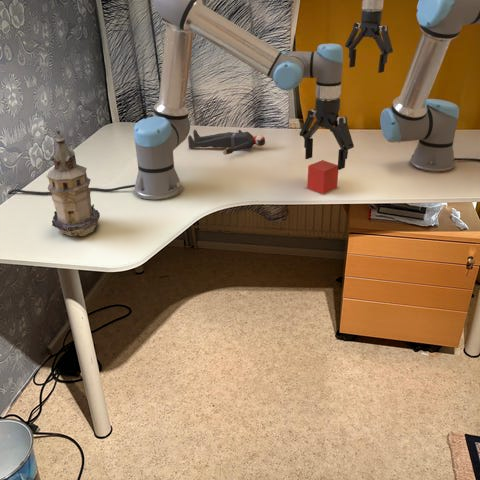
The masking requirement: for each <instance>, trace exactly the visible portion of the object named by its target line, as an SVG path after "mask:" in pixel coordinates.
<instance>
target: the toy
mask: <svg viewBox="0 0 480 480" xmlns="http://www.w3.org/2000/svg"><path fill="white" fill-rule="evenodd" d="M187 142H188V148H189V149H190V150H192V149H196V148H203V149H206V148H216V149H217V148H224V150H222V153H223V155H224V156H226V155H231V154H233V153H234V152H238V151H241V150H242V151H249V150H252V149H253V148H254V146H259V147H262V146H264V145H265V144H266V137H265V136H263V135H255V136H253V134H252V133H250V132H249V131H242V130H241V129H237V130H236V132H231V131H228V132H222V133H221V132H220V133H215V134H209V135H203V136H201V135H200V134H199V133H198V131H197V129H193V136H192V135H190V134H188V136H187Z"/></svg>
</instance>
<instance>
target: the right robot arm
mask: <svg viewBox="0 0 480 480" xmlns="http://www.w3.org/2000/svg"><path fill="white" fill-rule="evenodd" d="M384 1H385V0H362V1H361V9H362V10H361V12H360V21H361V22H360V21H359V22H354V23H353V27H352V30H351V31H350V34H349V36H348V37H347V40H346V41H345V44H344V47H345V48H347V49H348V59H349V65H348V68H350V69H351V68H355V67H356V59H357V58H356V57H357V49H356V48H357V46H358V45H359V44H360V43H361V41H362V40H363V39H364V38H367V37H368V38H372V39H373V40H374V41H375V43H376V45H377V47H378V49H379V51H380V52H381V54H380V55H379V60H378V70H377V73H379V74H381V73H385V66H386V64H387V63H388V56H389V54H393V52H394V48H393V45H392V42H391V38H390V35H389V26H388V25H382V24H381V22H382V19H383V9H384ZM416 10H417V12H416V20H417V22H418V24H419V30H420V31H421V32H422V33H421V35H420V38H419V41H418V44H417V46H416V49H415V52H414V55H413V57H412V60H411V63H410V67H409V69H408V72H407V75H406V77H405V80H404V83H403V85H402V89H401V91H400V94H399V96H397V97H395V98H394V99H393V101H392V104H391V105H390V107H386V108H384V109H382V111H381V113H380V120H379V121H380V129H381V132H382V135H383V137H384V139H385V140H386V141H387V142H388V143H403V142H412V141H418V143H417V145H416V147H415V150H414V151H413V154H412V155H411V157H410V162H409V164H410V166H411V167H413V168H414V169H416V170H418V171H422V172H426V173H433V174H435V173H436V174H440V173H448V172H451V171H453V170H454V169H455V164H456V161H471V162H480V158H470V157H455V155H454V153H455V152H454V141H455V137H456V131H457V126H458V121H459V119H460V117H459V115H460V108H459V105H457V104H456V103H455V102H452V101H448V100H445V99H444V100H443V99H437V98H429V96H430V94H431V90H432V89H433V86H434V83H435V81H436V79H437V76H438V73H439V71H440V69H441V66H442V63H443V61H444V58H445V56H446V53H447V51H448V49H449V47H450V43H451V41H452V40H455V39H456V38H457V37H459V35H460V32H461V30H462V28H463V26H467V25H478V24H480V0H418V3H417V5H416ZM359 30H360V32H359Z"/></svg>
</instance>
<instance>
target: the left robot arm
mask: <svg viewBox="0 0 480 480" xmlns="http://www.w3.org/2000/svg"><path fill="white" fill-rule="evenodd" d="M207 3H208V0H153V4H154V5H153V6H154V8H155V10H156V12H157V13H158V15H159V16H160V17H161V21H162V23H163V24H164V25H165V34H164V35H165V36H164V45H163V54H162V67H161V76H160V77H161V78H160V86H159V97H158V101H157V102H156V103H155V104H154V105H153V110H152V111H153V112H152V116H150V117H149V116H148V117H146V118H142V119H140V120H138V121H137V123H135V125H134V127H133V139H134V144H135V154H136V161H137V175H136V179H135V184H128V185H124V186H118V187H113V188H100V187H89V189H90V191H98V192H115V191H120V190H123V189H124V190H125V189H130V188H134V193H135V195H136V196H137V197H138V198H141V199H143V200H148V201H161V200H168V199H171V198H174V197H176V196H178V195H179V194H180V193H181V192H182V182H181V180H180V177H179V176H178V173H177V171H176V169H175V161H174V160H175V159H174V158H175V157H174V151H175V150H176V149H177V148H178V147H179V146H180V145H181V144H182V143H184V142H185V140H186V139H188V136H189V135H190V131H191V121H190V119H189V112H190V111H189V108H187V106H186V99H187V91H188V84H189V76H190V75H189V74H190V67H191V60H192V51H193V43H194V34H195V35H197V36H199V37H200V38H202V39H204V40H206V41H207V42H209V43H211V44H212V45H214V46H216V47H217V48H219V49H221V50H222V51H224V52H226V53H228V54H230V55H231V56H233V57H234V58H236V59H237V60H239V61H241V62H243V63H244V64H246V65H248V66H249V67H251V68H253V70H254V69H255V71H257V72H260V73H261V74H263V75H264V76H266V77H268V78H269V79H271V80H272V81H273V82H274V85H275V86H276V87H277V88H278V89H279V90H282V91H286V92H288V91H292V90H294V89H295V88H297V87H298V86H299V85H300V84H301V83H302V81H303V79H316V81H315V97H316V98H315V101H314V102H315V103H314V108H312V109H309V110H308V111H307V117H306V118H305V120H304V123H303V125H302V127H301V130H300V131H299V137H302V138H303V140H304V141H303V142H304V144H303V147H304V149H305V151H304V152H305V154H304V158H305V160H309V159H312V158H313V152H314V151H313V148H314V138H313V135H314V134H315V133H316V132H317V131H318V130H319V128H323V129H326V130H329V131H330V132H331V133H332V134H333V136H334V138H335V140H336V142H337V144H338V146H339V148H340V149H338V157H337V165H338V171H340V170H343V169H345V168H346V160H347V159H348V157H349V156H348V153H349V150H351V149H354V147H355V145H354V141H353V138H352V135H351V132H350V128H349V126H348V117H347V116H340V115H339V112H340V109H341V99H340V98H341V96H342V95H341V93H342V80H343V79H342V77H343V65H344V64H343V63H344V48H343V46H342V45H341V44H338V43H323V44H322V43H321V44H319V45H318V46H317V50H316V51H315V50H314V51H298V50H295V51H293V50H287V51H286V50H285V51H281V50H278V49H277V48H275V47H274V46H272V45H270V44H269V43H267V42H265V41H264V40H262V39H260V38H259V37H258V36H256V35H254V34H252V33H250V32H249V31H248V30H245V29H244V28H242V27H241V26H239V25H237V24H235V23H234V22H233V21H231V20H229V19H227V18H226V17H224V16H222V15H221V14H220V13H217V12H216V11H214V10H213V9H211V8H209V7H207V6H206V5H207ZM315 119H316V120H315ZM314 120H315V122H314ZM15 192H16V193H23V194H32V195H52V193H51V192H50V191H35V190H24V189H18V188H14V189H11V190H9V191H8V193H7V195H11V194H12V193H15Z"/></svg>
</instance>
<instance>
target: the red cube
mask: <svg viewBox="0 0 480 480" xmlns="http://www.w3.org/2000/svg"><path fill="white" fill-rule="evenodd" d="M338 178H339V170H338V164H335V163H333V162H330V161H326V160H323V159H322V160H319V161H317V162H314V163H311V164H308V165H307V183H306V188H307V190H310V191H313V192H316V193H318V194H321V195H325V194H327V193H329V192H331V191H334V190H336V189H338Z"/></svg>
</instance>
